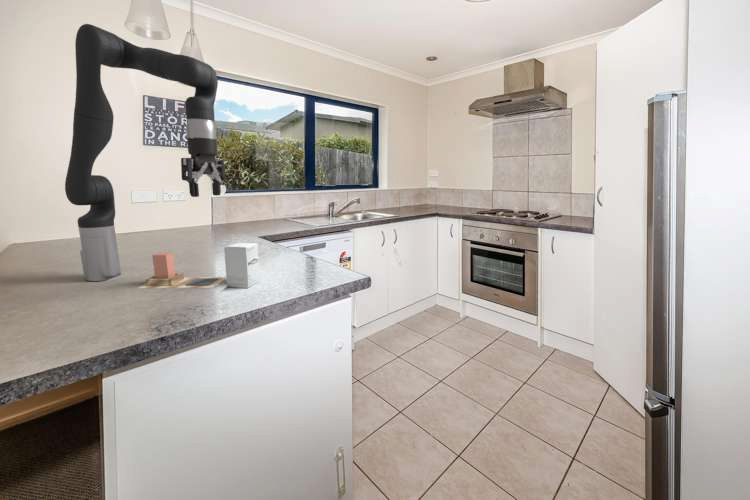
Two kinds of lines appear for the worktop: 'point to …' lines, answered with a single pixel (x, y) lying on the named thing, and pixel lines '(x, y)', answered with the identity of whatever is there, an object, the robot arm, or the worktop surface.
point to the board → (182, 282)
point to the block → (164, 265)
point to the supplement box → (242, 265)
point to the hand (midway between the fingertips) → (206, 196)
